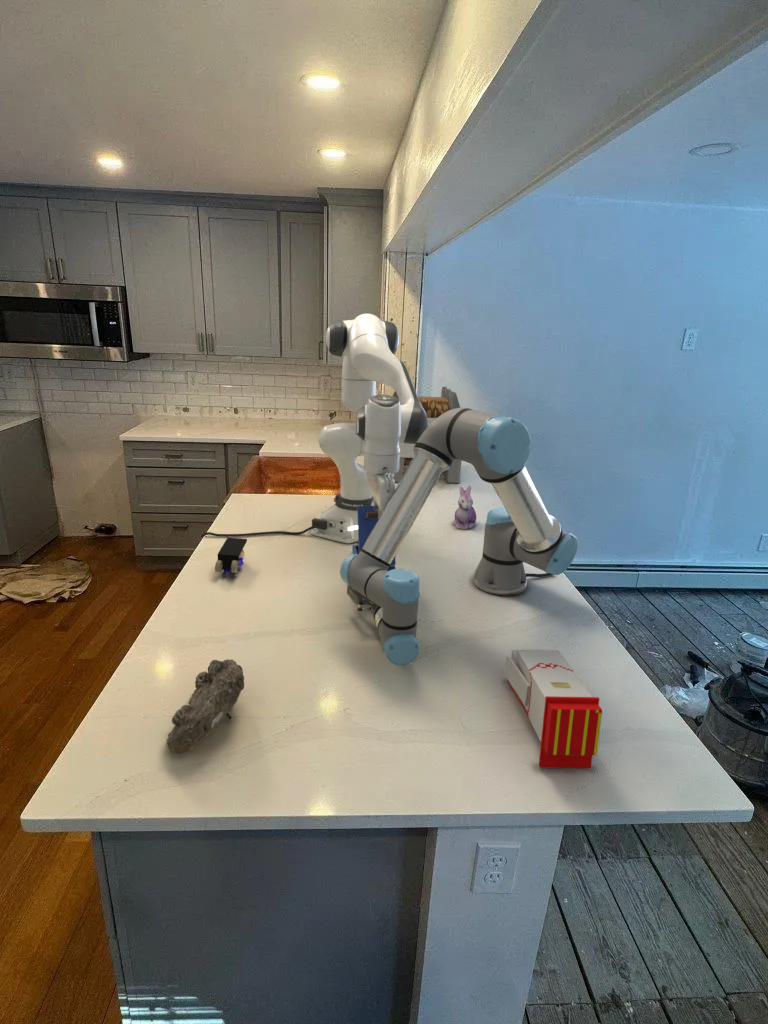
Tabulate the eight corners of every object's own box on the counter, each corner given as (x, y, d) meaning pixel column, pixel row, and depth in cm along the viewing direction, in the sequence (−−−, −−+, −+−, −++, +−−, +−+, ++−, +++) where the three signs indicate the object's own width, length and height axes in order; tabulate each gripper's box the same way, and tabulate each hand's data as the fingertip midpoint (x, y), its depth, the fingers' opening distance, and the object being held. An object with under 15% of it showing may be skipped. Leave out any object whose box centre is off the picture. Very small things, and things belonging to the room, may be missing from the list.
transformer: (382, 463, 289) (386, 382, 275) (445, 464, 293) (451, 384, 279) (390, 482, 257) (394, 392, 243) (460, 483, 261) (468, 394, 247)
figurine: (462, 531, 204) (465, 492, 199) (446, 522, 213) (449, 483, 207) (483, 528, 208) (487, 489, 203) (467, 518, 217) (470, 481, 212)
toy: (554, 631, 124) (612, 705, 95) (548, 687, 127) (603, 776, 98) (499, 630, 124) (540, 704, 94) (495, 686, 126) (533, 775, 97)
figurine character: (238, 584, 162) (249, 557, 175) (236, 562, 158) (247, 536, 172) (215, 584, 161) (227, 556, 175) (212, 561, 158) (225, 535, 171)
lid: (357, 506, 150) (361, 502, 143) (392, 505, 152) (398, 501, 145) (359, 566, 149) (363, 564, 141) (394, 564, 150) (400, 563, 143)
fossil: (192, 660, 117) (244, 628, 112) (224, 691, 120) (276, 661, 115) (142, 746, 98) (202, 712, 93) (182, 779, 101) (242, 748, 96)
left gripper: (403, 474, 131) (399, 530, 135) (387, 452, 149) (384, 502, 154) (376, 474, 129) (373, 531, 134) (363, 453, 148) (361, 502, 153)
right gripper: (342, 633, 132) (333, 588, 153) (434, 628, 136) (413, 585, 157) (343, 604, 130) (334, 563, 150) (437, 600, 134) (415, 560, 154)
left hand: (379, 515), depth 144 cm, fingers open, 5 cm apart
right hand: (374, 574), depth 153 cm, fingers closed on chest, 9 cm apart
